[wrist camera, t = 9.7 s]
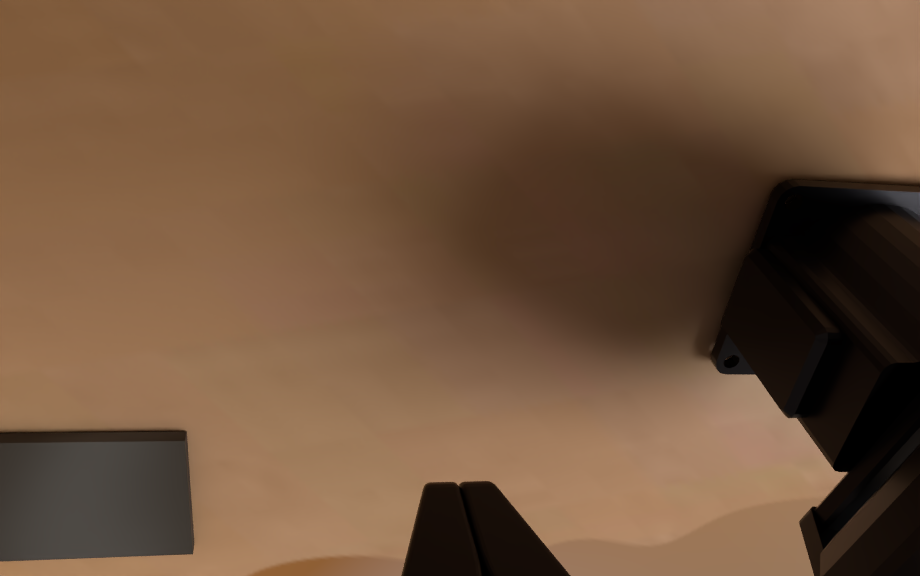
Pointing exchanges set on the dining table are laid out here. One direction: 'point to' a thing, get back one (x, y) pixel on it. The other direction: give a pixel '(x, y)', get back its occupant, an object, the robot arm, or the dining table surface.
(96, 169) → the dining table surface
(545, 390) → the dining table surface
